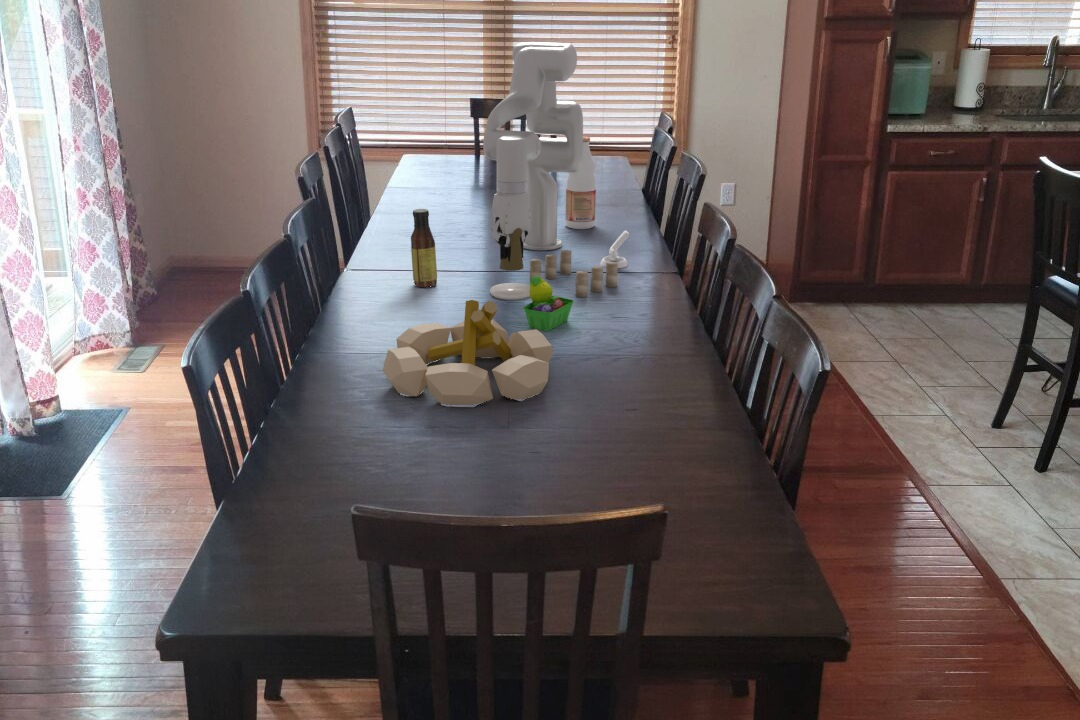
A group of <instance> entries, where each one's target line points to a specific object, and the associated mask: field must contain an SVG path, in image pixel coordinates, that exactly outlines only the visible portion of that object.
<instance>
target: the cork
mask: <svg viewBox="0 0 1080 720" xmlns="http://www.w3.org/2000/svg"><path fill="white" fill-rule="evenodd" d="M521 236H522V229H521V228H517V229H515V230H514V231H513V233H512V234H510V235H509V237H510V242H509V246H510V247H511V256H510V262H509V261H508V257H507V258H506V259H502V260H500V263H499V264H500V265H499V269H501V270H503V271H510V272H514V271H515V272H516V271H521V270H524V267H525V266H524V261H523V259H524V258H522V251H521V243H520V237H521ZM503 237H504V239H505V236H503Z"/></svg>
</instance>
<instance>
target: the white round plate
mask: <svg viewBox="0 0 1080 720" xmlns="http://www.w3.org/2000/svg"><path fill="white" fill-rule="evenodd" d="M489 291H490V293H491V294H490V295H491V297H493V296H494V297H493V298H496V299H500V300H505V301H506V300H507V301H508V300H509V301H510V300H511V301H512V300H513V301H518V300H525V299H529V298H530V294H529V291H530V284H526V283H518V282H504V283H497V284H495V285H493V286H491V287H490V290H489Z"/></svg>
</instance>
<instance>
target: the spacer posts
mask: <svg viewBox="0 0 1080 720" xmlns="http://www.w3.org/2000/svg"><path fill="white" fill-rule="evenodd" d="M559 252H560V260H559V261H560V262H559V266H560V267H559V273H560V274H561V275H566V276H567V275H571V274H572V251H571V250H568V249H565V250H564V249H563V250H560V251H559ZM544 260H545V262H544V264H545V265H544V269H545V274H544V275H545V276H544V277H545V279H547V280H555V279H557V265H558V263H557V261H558V260H557V255H556V254H546V255H545V259H544ZM617 262H618V261H610V262H607V263H606V267H605V287H607V288H616V287H617V286H618V271H619V270H618V269H619V268H618V263H617ZM590 272H591V273H590V275H591V276H590V291H591V292H592V293H601V292H603V289H604V288H603V287H604V286H603V284H604V283H603V282H604V267H603V266H597V265H596V266H595V265H594V266H591V271H590ZM534 276H539V277H540V278H542V259H540V258H539V259H538V258H532V259H530V260H529V281H530V280H531V279H532V278H533V277H534ZM588 282H589V272H588V271H584V270H580V271H576V272H575V297H577V298H586V297H588V289H589V287H588V285H589V283H588Z"/></svg>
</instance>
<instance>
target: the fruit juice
mask: <svg viewBox="0 0 1080 720" xmlns="http://www.w3.org/2000/svg"><path fill="white" fill-rule="evenodd" d="M590 143H591V137H590V136H584V135H583V162H582V166H581V169H580V170H579V171H577V172H573V173H567V178H566V182H565V226H566V227H567V228H568V229H574V230H588V229H592V228H594V226H595V223H596V197H597V196H596V195H597V194H596V191H597V182H596V180H597V179H596V178H595V177H596V176H595V173H596V171H597V164H596V161H595V159H594V157H593V155H592V152H591V149H590Z"/></svg>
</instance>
